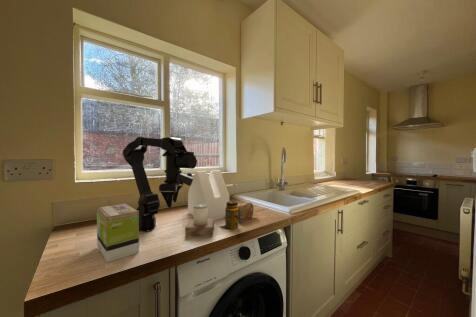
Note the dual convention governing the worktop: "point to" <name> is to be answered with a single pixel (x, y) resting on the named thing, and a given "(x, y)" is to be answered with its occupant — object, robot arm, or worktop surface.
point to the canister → (200, 214)
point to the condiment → (231, 217)
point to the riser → (199, 229)
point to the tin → (245, 212)
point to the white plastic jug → (208, 193)
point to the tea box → (117, 231)
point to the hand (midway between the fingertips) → (172, 204)
